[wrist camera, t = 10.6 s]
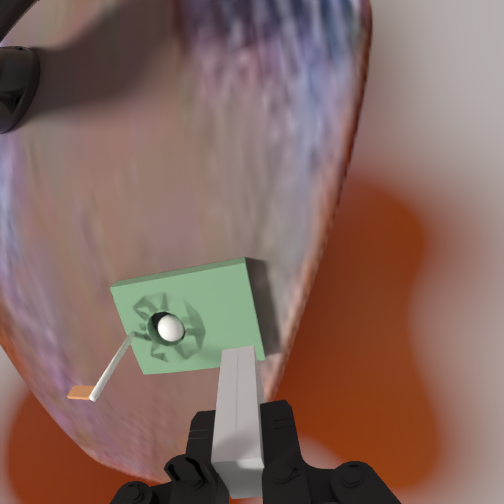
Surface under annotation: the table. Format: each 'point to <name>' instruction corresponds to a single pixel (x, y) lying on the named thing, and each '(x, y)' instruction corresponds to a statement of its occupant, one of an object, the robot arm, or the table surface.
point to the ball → (171, 328)
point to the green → (184, 319)
